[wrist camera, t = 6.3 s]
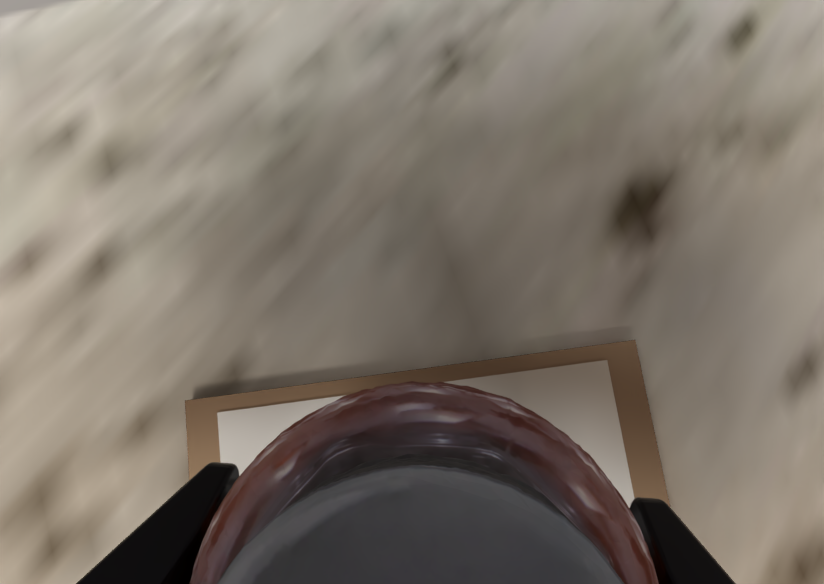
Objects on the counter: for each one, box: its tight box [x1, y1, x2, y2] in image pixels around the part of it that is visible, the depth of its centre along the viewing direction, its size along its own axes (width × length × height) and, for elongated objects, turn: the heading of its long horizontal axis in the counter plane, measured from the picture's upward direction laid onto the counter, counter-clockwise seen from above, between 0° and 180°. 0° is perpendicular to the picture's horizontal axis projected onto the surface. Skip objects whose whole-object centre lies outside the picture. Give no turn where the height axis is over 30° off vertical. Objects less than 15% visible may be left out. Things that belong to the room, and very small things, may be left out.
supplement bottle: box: [189, 381, 659, 584], centre depth 10 cm, size 6×6×11 cm
